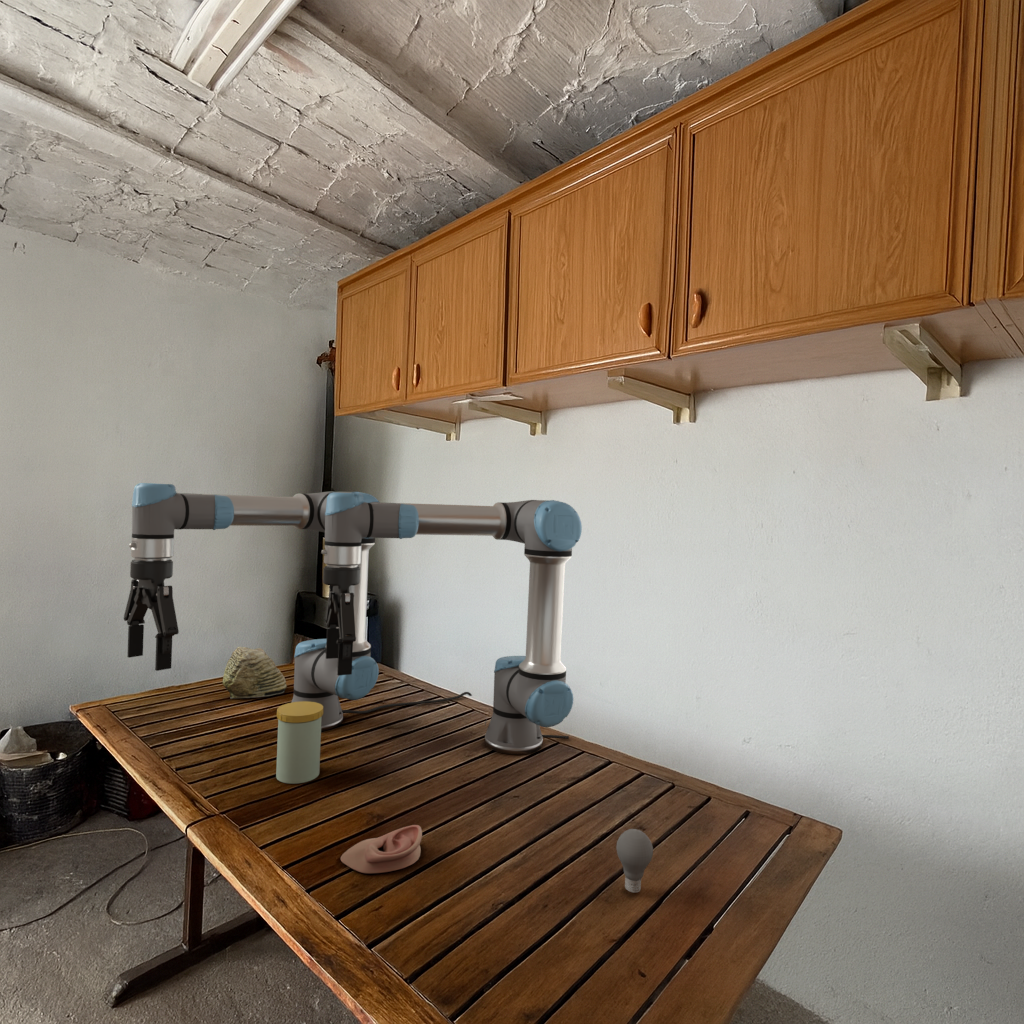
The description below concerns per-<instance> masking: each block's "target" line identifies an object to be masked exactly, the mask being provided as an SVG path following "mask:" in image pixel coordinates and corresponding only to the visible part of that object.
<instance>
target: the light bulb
mask: <svg viewBox="0 0 1024 1024" xmlns="http://www.w3.org/2000/svg"><path fill="white" fill-rule="evenodd" d="M615 849H616V854H617V857H618V859H619V861H620V863H621V865H622V867H623V873H624V874H623V875H624V876H625V878H624V888H625V890H627V891H628V892H630V893H634V894H635V893H639V892H640V891H641V889H642V887H641V886H642V879H643V877H644V875H645V871H646V868H647V867H648V866H649V864H650V863H651V861H652V859H653V855H654V847H653V843H652V841H651V838H649V836H648V835H647V834H646V833H645V832H643V831H642V830H641V829H636V828H629V829H627V830H625V831H623V832H622V833H621V834H620V835H619V837H618V839H617V841H616V847H615Z"/></svg>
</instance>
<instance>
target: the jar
mask: <svg viewBox="0 0 1024 1024" xmlns="http://www.w3.org/2000/svg"><path fill="white" fill-rule="evenodd" d="M321 718H322V717H320V718H318V719H316V720H313V721H309V722H302V723H289V722H284V721H281V720H279V719H278V718H277V741H276V742H277V743H276V766H275V767H276V769H275V770H276V771H275V778H276V780H277V781H279V782H281V783H284V784H288V785H289V784H290V785H291V784H292V785H293V784H295V785H296V784H303V783H307V782H311V781H313V780H315V779H317V778H318V777H319V775H320V771H321V767H320V765H321V764H320V763H321V745H322V743H321V742H322V741H321V740H322V731H321Z"/></svg>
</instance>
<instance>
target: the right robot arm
mask: <svg viewBox="0 0 1024 1024" xmlns="http://www.w3.org/2000/svg"><path fill="white" fill-rule="evenodd" d="M339 492H340V491H338V492H332V493H330V494H329V495H328V496H327V504H326V512H325V532H324V549H321V552H320V554H322V555H324V556H323V564H325V566H324V567H322V568H323V570H322V572H323V573H322V583H323V585H325V586H328V598H327V606H326V614H325V619H324V622H325V624H326V625H325V626H326V639H327V641H326V659H332V658H338V671H337V675H350V674H352V654H353V642H354V641H356V635H355V618H354V593H350V589H349V588H350V586H351V585H353V586H354V585H358V584H359V583H360V568H359V567H358V565H359V564H361V540H362V538H364V537H365V538H369V537H370V538H375V539H399V540H402V539H412V538H414V537H416V536H419V535H420V536H421V535H423V536H424V535H425V536H433V535H434V536H478V537H479V536H481V537H483V536H485V537H488V536H489V537H493V539H495V540H496V541H501V540H502V541H510V542H516V543H521V544H524V551H523V555H524V557H526V559H527V560H528V561H529V572H528V573H529V574H528V575H529V578H528V594H527V596H528V597H527V599H528V600H527V615H526V638H525V639H526V640H525V642H526V643H525V655H507V656H501V657H499V658H497V659H496V661H495V664H494V670H493V673H494V676H493V701H492V702H493V703H492V704H493V705H492V707H493V708H492V715H491V718H490V720H489V723H488V725H487V729H486V731H485V734H484V744H485V746H486V747H487V748H488V749H490V750H491V751H494V752H496V753H500V754H505V755H514V756H516V755H528V754H533V753H535V752H538V751H539V750H541V749H542V747H543V740H544V739H561V740H569V738H570V737H569V735H559V734H558V735H557V734H543V733H542V730H541V727H542V728H551V727H556V726H557V725H559V724H561V723H562V722H564V719H566V718H568V716H569V715H570V713H571V711H572V709H573V705H574V693H573V691H572V689H571V688H570V685H569V684H568V683H567V667H566V666H565V664H564V663H563V661H561V657H562V636H563V618H564V617H563V615H564V593H565V575H566V564H567V563H568V561H569V560H571V559H572V558H573V548H574V547H575V546H576V544H577V543H578V542H579V541H580V539H581V536H582V532H583V531H582V530H583V525H582V521H581V517H580V515H579V513H578V512H577V511H576V509H575V508H574V507H573V506H571V504H569V503H566V502H563V501H560V500H554V499H549V500H547V499H545V500H543V499H538V500H537V499H528V500H519V501H511V502H501V501H500V502H495V503H494V504H493V505H469V504H468V505H467V504H443V503H441V504H440V503H439V504H437V503H411V502H409V503H406V502H405V503H404V502H380V501H379V502H370V503H366V502H364V500H363V495H362V494H360V493H339ZM336 627H339V628H336ZM486 724H487V720H485V721H484V726H486Z"/></svg>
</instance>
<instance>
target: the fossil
mask: <svg viewBox="0 0 1024 1024" xmlns="http://www.w3.org/2000/svg"><path fill="white" fill-rule="evenodd" d="M222 676H223V677H222V685H223V687H224V688H225V690H226V691H228V693H229V698H230V699H250V698H264V697H271V696H275V695H281V694H284V693H285V691H286V689H287V687H288V686H287V680H286V678H285V676H284V674H283V673H282V672H281V669H279V668H278V667H277V665H276V663H275V662H274V660H273V659H272V658H271V657H270V656H269V655H268V654H267V653H266V652H265V650H264V649H263V648H260V647H258V648H251V647H247V646H246V647H245V646H238V647H237V648H236V649H235V650H233V651H232V653H231V656H230V657H229V659H228V660H227V663H226V666H225V668H224V671H223V675H222Z"/></svg>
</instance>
